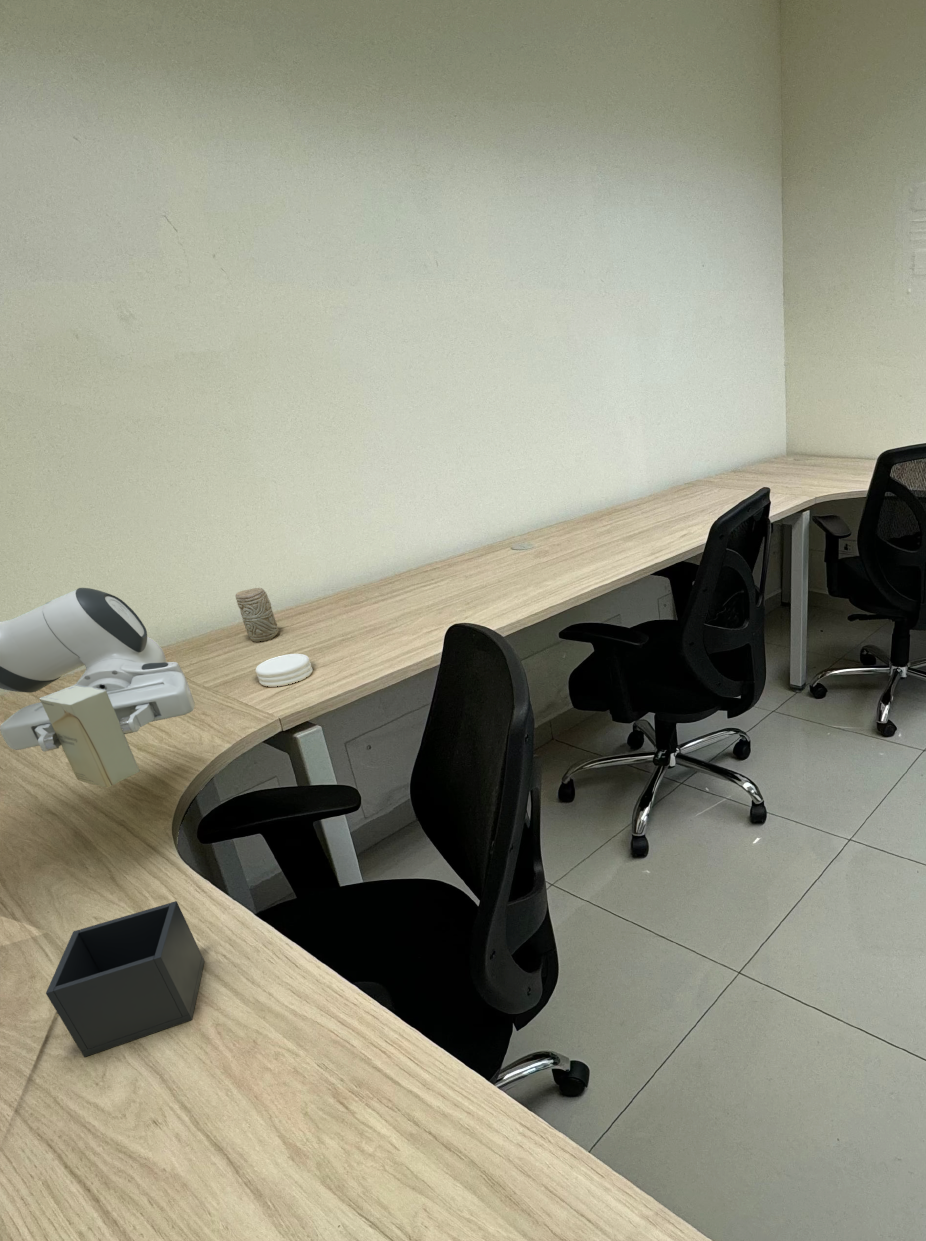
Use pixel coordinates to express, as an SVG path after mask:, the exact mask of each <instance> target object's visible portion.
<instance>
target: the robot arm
mask: <svg viewBox="0 0 926 1241" xmlns="http://www.w3.org/2000/svg"><path fill="white" fill-rule="evenodd" d="M166 657H167V656H166V654H165V652H164V650H163V648H162V647H161V646H160V645H159V643H158V642H157V641H155V639H153V638H151V637H149V636H148V631H147V628H146V627H145V625H144V623H143V621H142V620H141V618H140V617H139V616H138V615H137V613H136V612H135V611H134V610H133V609H132V608H131V607H130V605H129V604H127V603H126V602H125V601H123V600H122V599H120V597H118V596H116V595H113V594H111V593H108V592H106V591H102V590H98V589H96V588H91V587H78V588H77V589H75V590H72V591H69V592H67V593H65V594H62V595H61V596H58V597H56V598H53V599H51V600H49V601H47V602H45V603H44V604H42V605H40V606H38V607H35V608H33V609H30V610H29V611H27V612H24V613H23V614H20V615H18V616H16V617H14V618H11V619H8V620H7V619H6V620H2V621H1V620H0V689H1V690H3V691H5V690H6V691H9V692H17V693H28V694H31V693H36V692H38V691H40V690H42V689H44V688H46V687H47V686H49V685H50V684H52V683H54V682H56V681H57V680H59V679H60V678H62V677H64V676H65V675H68V674H69V673H72V672H73V671H75V670H78V669H79V668H82V667H84V666H85V671H84V672H83V674H82V675H81V676H80V678H79V679H78V680H77V681H76V683H74V685H80V686H86V687H93V688H98V689H103V690H106V692H107V694H108V697H109V699H110V701H111V704H112V706H113V708H114V711H115V713H116V716H117V718H118V720H119V723H120V727H121V728H122V732H123V733H124V735H127V734H128V735H129V734H132V733H133V734H134V733H138V732H139V731H140V729H141V727H144V726H146V725H148V724H149V723H152V722H157V721H163V720H167V719H173V718H177V717H182V716H185V715H188V714H190V713H191V712H193V711H194V710H195V706H196V704H195V699H194V696H193V693H192V691H191V689H190V686H189V683H188V680H187V678H186V676H185V673H184V671H183V669H182V668H181V666H180V665H179V663H178V662H177V661H167V658H166ZM0 735H1V736H2V738H3V740H4V742H5V744H6V745H7V747H8V748H10V749H12V750H15V751H21V750H26V749H30V748H34V747H39V748H40V749H41V751H42V752H43V753H45V752H48V751H54V750H58V749H60V747H62V746H61V743H60V741H59V739H58V737H57V735H56V733H55V731H54V728H53V726H52V724H51V722H50V720H49V718H48V716H47V714H46V712H45V709H44V707H43V705H42V703H41V701H39V702H36V703H32V704H28V705H26V706H24V707H22V708H19V709H18V710H17V711H15V712H14V713H13V714H11V715H10V716H8V718H7V719H5V720H4V721H3V722H2V723H1V724H0Z"/></svg>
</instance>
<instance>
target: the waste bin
mask: <svg viewBox="0 0 926 1241" xmlns="http://www.w3.org/2000/svg"><path fill="white" fill-rule="evenodd" d="M188 924H189V923H188V922H187V920H186V918H185V916H184V914H183V912H182V908H181V907H180V906H179V903H178V901H177V900H175V901H171V902H168V903H165V904H162V905H158V906H155V907H152V908H148V909H144V910H141V911H138V912H134V913H131V914H128V915H124V916H121V917H117V918H115V919H114V918H113V919H111V920H107V921H103V922H100V923H97V924H94V925H90V926H87V927H83V928H80V929H76V930H73V931H72V933H71V935H70V938H69V939H68V943H67V945H66V947H65V949H64V952H63V954H62V956H61V958H60V960H59V963H58V964H57V967H56V970H55V972H54V973H53V976H52V978H51V980H50V983H49V985H48V987H47V990H46V992H45V994H46V996H47V998H48V1000H49V1001H50V1003H51V1004H52V1006H53V1008H54V1009H55V1011H56V1013H57V1014H58V1016H59V1018H60V1020H61V1021H62V1023H63V1025H64V1026H65V1028H66V1029H67V1031H68V1033H69V1035H70V1036H71V1039H73V1041H74V1043H75V1044H76V1046H77V1048H78V1049H79V1051H80V1053H81V1055H82V1056H83V1058H87V1057H89V1056H92V1055H95V1054H97V1053H100V1052H103V1051H107V1050H109V1049H112V1048H115V1047H118V1046H121V1045H123V1044H124V1045H125V1044H126V1043H129V1042H132V1041H135V1040H139V1039H141V1038H144V1037H146V1036H149V1035H152V1034H155V1033H158V1032H162V1031H164V1030H167V1029H170V1028H173V1027H175V1026H178V1025H181V1024H184V1023H187V1022H190V1021H193V1018H194V1013H195V1007H196V1003H197V998H198V994H199V993H198V992H199V988H200V984H201V979H202V975H203V970H204V965H205V958H204V956H203V954H202V952H201V950H200V948H199V946H198V944H197V942H196V939H195V937H194V935H193V933H192V931H191V929H190V926H189V925H188Z"/></svg>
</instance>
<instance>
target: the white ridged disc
mask: <svg viewBox="0 0 926 1241" xmlns="http://www.w3.org/2000/svg"><path fill="white" fill-rule="evenodd" d="M255 673H256V675H257V679H258V682H259V684H260V685H261V686H264V687H267V686H268V688H276V687H277V686H278V687H284V686H288V684H289V685H293V684H296V683H299V682H301V681H303V680H305V679H307V678H308V677H310V675H312V673H313V667H312V663H311V661H310V658H309V656H308V655H306V654H303V653H289V654H282V655H278V656H275V657H271V658H269V659H266V660H264V661H262V662H261V663H259V664H258V665H257V666H256V668H255ZM306 677H307V678H306ZM298 681H299V682H298ZM295 682H296V683H295ZM292 683H293V684H292Z"/></svg>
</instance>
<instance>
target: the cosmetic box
mask: <svg viewBox="0 0 926 1241" xmlns="http://www.w3.org/2000/svg"><path fill="white" fill-rule="evenodd" d="M39 702H41V703H42V705H43V707H44V709H45V712H46V714H47V716H48V718H49V720H50V722H51V724H52V726H53V728H54V731H55V733H56V735H57V737H58V739H59V741H60V743H61V746H60V747H61V748H62V750H63V752H64V755H65V756H66V758H67V761H68V763H69V765H70V768H71V769H72V772H73V774H74V776H75V778H76V781H79V782H82V783H87V784H90V785H94V786H98V787H101V788H107V789H108V788H110V787H112V786H115V785H116V784H118V783H121V782H122V781H124V780H126V779H128V778H129V777H131V776H134V775H136V774H138V773H140V768H139V765H138V763H137V761H136V759H135V756H134V754H133V751H132V749H131V747H130V744H129V742H128V740H127V737H126V734H124V733H123V732H122V730H123V729H122V728H121V727H120V723H119V720H118V718H117V716H116V713H115V711H114V708H113V706H112V704H111V701H110V699H109V697H108V694H107V692H106V690H103V689H98V688H93V687H86V686H80V685H75V684H71V685H70V686H67V687H65V688H62V689H59V690H57V691H55V692H52V693H49V694H47V695H45V696H41V697H39Z"/></svg>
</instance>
